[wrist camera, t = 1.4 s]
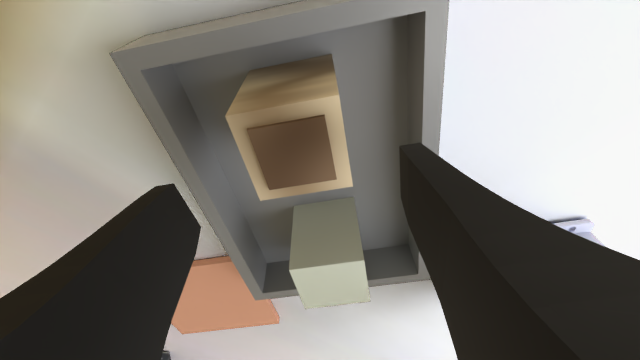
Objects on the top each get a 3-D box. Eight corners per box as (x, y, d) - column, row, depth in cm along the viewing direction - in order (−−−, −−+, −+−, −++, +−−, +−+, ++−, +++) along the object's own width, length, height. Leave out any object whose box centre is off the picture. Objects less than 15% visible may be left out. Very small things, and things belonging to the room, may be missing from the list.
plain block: (353, 196, 19) (364, 260, 15) (360, 237, 22) (370, 301, 18) (293, 206, 20) (288, 270, 16) (306, 244, 22) (305, 308, 18)
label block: (331, 53, 14) (339, 96, 10) (343, 129, 16) (353, 188, 12) (249, 70, 14) (224, 118, 10) (272, 141, 17) (259, 203, 13)
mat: (245, 253, 23) (244, 259, 23) (279, 317, 29) (278, 323, 29) (128, 269, 24) (124, 276, 24) (184, 328, 30) (182, 334, 30)
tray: (424, -27, 12) (450, -21, 10) (417, 245, 23) (429, 279, 21) (144, 35, 14) (109, 53, 11) (261, 266, 24) (255, 300, 22)
